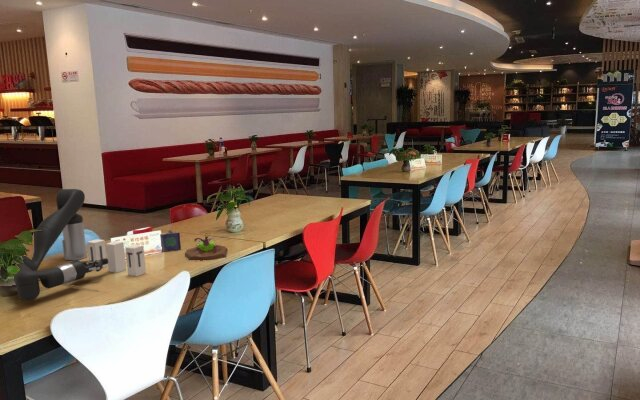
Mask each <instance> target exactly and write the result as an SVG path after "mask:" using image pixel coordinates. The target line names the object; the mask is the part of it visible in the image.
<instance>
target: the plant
mask: <svg viewBox="0 0 640 400" xmlns="http://www.w3.org/2000/svg"><path fill="white" fill-rule="evenodd" d="M204 236H205V237H204V239H205V241H204V240H203V238H201V237H195V238H193V242H195V243H197V242H198V240H199V241H200V240H201V242H200V243H197V244H195V247H191V248H188V249H186V251H184V258H186V257H187V258H188V259H187V258H186V259H187V260H188V261H190V260H200V261H199V262H204V261H203V260H206V261H215V260H217V259H223V258H226V257H227V251H228V247H226V246H225V245H219V244H217V243H215V240H213V241H211V242H210V240H209V241H208V238H210V237H209V234H208V233H204ZM202 241H203V242H202Z"/></svg>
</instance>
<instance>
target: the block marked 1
mask: <svg viewBox="0 0 640 400" xmlns="http://www.w3.org/2000/svg"><path fill="white" fill-rule="evenodd" d="M86 243H87V245H86V247H87V253H88V254H87V255H88V261H89V260H94V261H95V260H101V259H104V258H106V259H107V253H106V241H105V239H98V238H96V239H92V240H89V241H87V242H86ZM102 266H103V268H106V267H107V268H108V264H105V265H102ZM103 268H102V269H103Z"/></svg>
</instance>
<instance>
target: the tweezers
mask: <svg viewBox="0 0 640 400" xmlns="http://www.w3.org/2000/svg"><path fill="white" fill-rule="evenodd" d="M215 238H216V237H208V238H207V239H208V241H209V242H210V241H211V240H214V239H215ZM202 239H203V238H202ZM203 240H204V241H205V238H204V239H203ZM202 242H203V241H202ZM198 243H201V240H200V239H199V240H197V241H196V244H198Z"/></svg>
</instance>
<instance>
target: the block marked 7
mask: <svg viewBox="0 0 640 400" xmlns="http://www.w3.org/2000/svg"><path fill="white" fill-rule="evenodd" d="M124 247H125V248H124V251H125V261H126V270H127V275H128V276H131V277H138V276H139V277H140V276H141V275H145V274H146V273H147V269H146V259H145V258H146V257H145V248H144V245H140V244H131V245H129V246H124Z"/></svg>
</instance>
